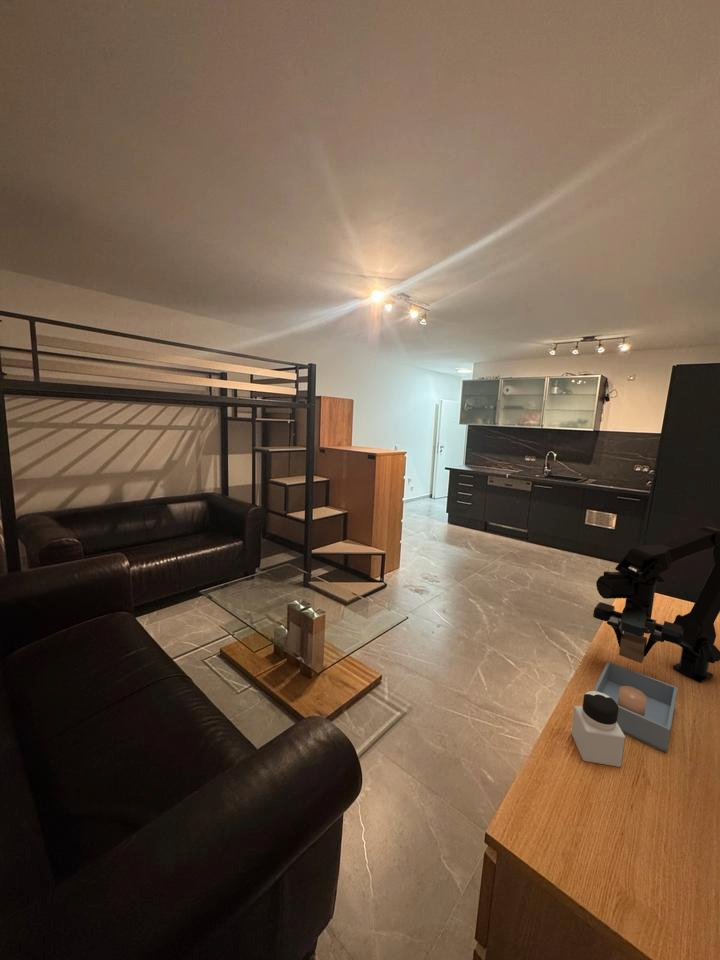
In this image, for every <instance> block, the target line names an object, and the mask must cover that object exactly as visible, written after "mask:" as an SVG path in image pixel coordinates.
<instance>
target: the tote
mask: <svg viewBox="0 0 720 960" xmlns="http://www.w3.org/2000/svg"><path fill="white" fill-rule="evenodd" d="M621 686H631V687H634V688H636V689H638V690H640V691H641V692H643V693H644V694H645V695H646V697H647V701H646V708H645V716H641V715H639V714H637V713H634V712H632V711H630V710H628V709H625V708H623V707H621V706H619V705H618V697H619V689H620V687H621ZM592 691H597V692H601V693H604V694H606V695H608V696H609V697H611V698H612V699H613V700H614V701H615V702H616V703H617V705H618V708H619V710H618V717H617V723H618V725H619V727H620V728H621V730H622V732H623V734H624V735H627V736H629V737H632V738H633V739H636V740H638V741H640V742H642V743H644V744H646V745H648V746H651V747H652V748H655V749H657V750H659V751H661V752H663V753H664V754H667V752H668V746H669V742H670V735H671V731H672V724H673V719H674V712H675V707H676V701H677V694H678V686H675V685H672V684H670V683H666V682H664V681H662V680H659V679H656V678H654V677H651V676H649V675H646V674H645V673H640V672H638V671H635V670H632V669H630V668H628V667H625V666H622V665H620V664H618V663H614V662H612V661H607V662H606V664H605V666H604V668H603V670H602V672H601V674H600V676H599V679H598V680H597V683H596V684H595V687H594V688H593V690H592Z"/></svg>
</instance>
